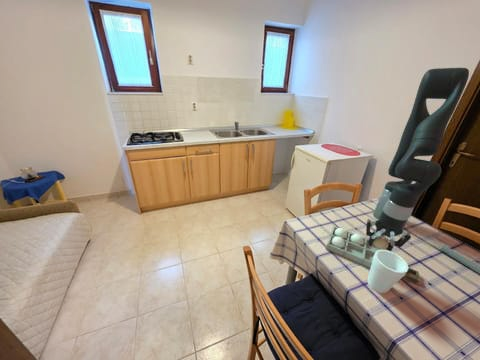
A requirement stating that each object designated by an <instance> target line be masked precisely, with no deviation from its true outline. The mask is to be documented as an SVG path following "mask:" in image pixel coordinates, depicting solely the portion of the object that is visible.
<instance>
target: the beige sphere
mask: <svg viewBox="0 0 480 360" xmlns="http://www.w3.org/2000/svg"><path fill="white" fill-rule="evenodd" d="M389 242H390V241H388V239H387V238H386V237H385V236H383V235H379V236H377V237H376V238H375V240H374V242H373V244H374V246H375V247H376V248H378V249H380V250H386V249H387V248H388V246H389Z"/></svg>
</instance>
